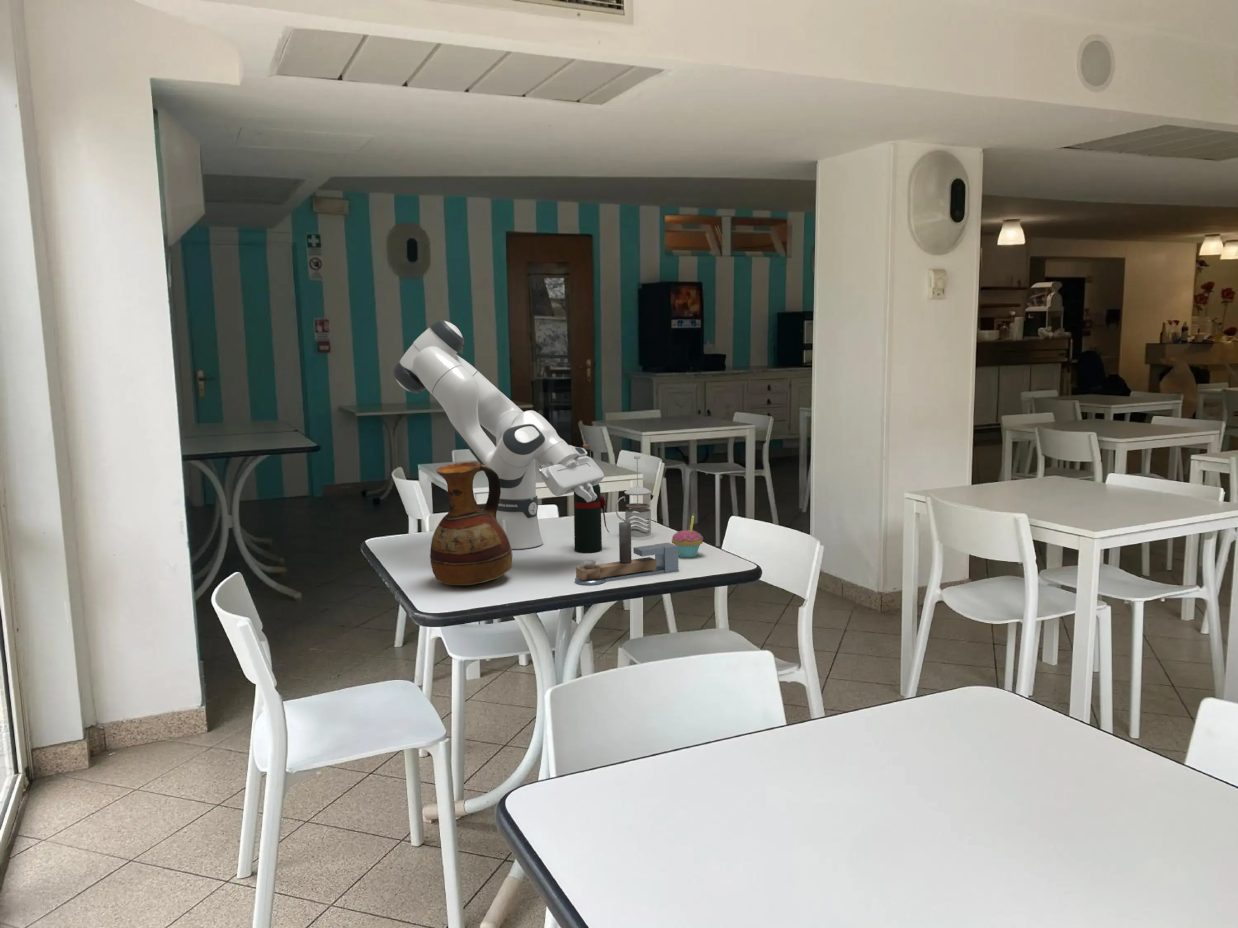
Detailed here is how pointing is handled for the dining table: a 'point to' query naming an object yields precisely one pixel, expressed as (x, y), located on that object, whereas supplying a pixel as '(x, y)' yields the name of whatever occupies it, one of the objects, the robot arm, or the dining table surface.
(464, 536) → the ceramic pitcher
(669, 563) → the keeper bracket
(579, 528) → the wine bottle
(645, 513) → the french press
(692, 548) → the cupcake
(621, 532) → the walnut link
